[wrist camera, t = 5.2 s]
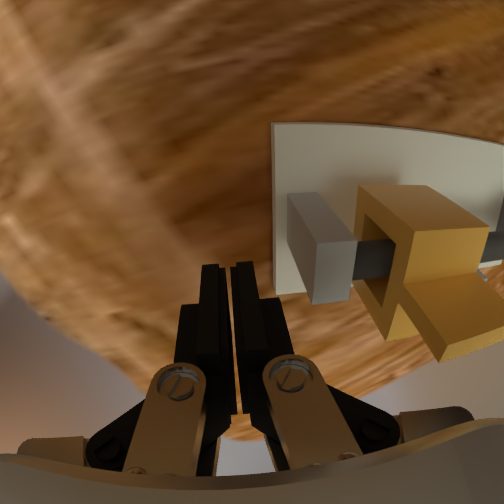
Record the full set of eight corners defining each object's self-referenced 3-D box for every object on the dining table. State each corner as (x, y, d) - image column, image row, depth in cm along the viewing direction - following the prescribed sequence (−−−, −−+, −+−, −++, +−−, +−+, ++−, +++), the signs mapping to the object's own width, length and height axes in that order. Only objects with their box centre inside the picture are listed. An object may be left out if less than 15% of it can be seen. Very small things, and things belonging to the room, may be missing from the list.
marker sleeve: (426, 185, 14) (543, 269, 7) (409, 268, 16) (490, 372, 9) (358, 184, 14) (472, 286, 6) (347, 276, 16) (417, 401, 9)
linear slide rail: (519, 147, 16) (593, 183, 9) (495, 257, 21) (550, 309, 14) (270, 122, 15) (313, 149, 8) (272, 283, 20) (298, 383, 13)
